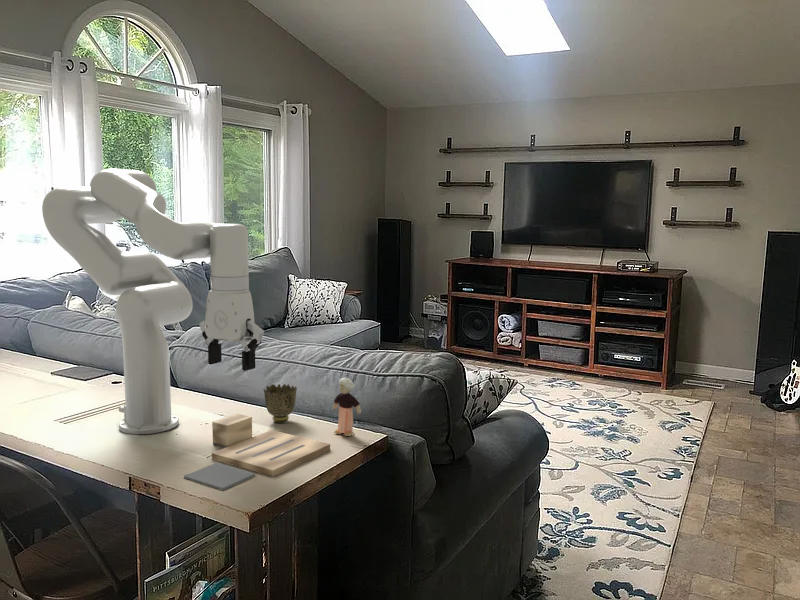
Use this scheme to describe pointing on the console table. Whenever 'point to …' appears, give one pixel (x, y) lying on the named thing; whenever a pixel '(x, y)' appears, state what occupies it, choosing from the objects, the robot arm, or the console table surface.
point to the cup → (280, 401)
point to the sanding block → (231, 430)
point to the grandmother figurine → (346, 407)
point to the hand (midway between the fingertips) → (231, 366)
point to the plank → (271, 452)
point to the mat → (219, 476)
